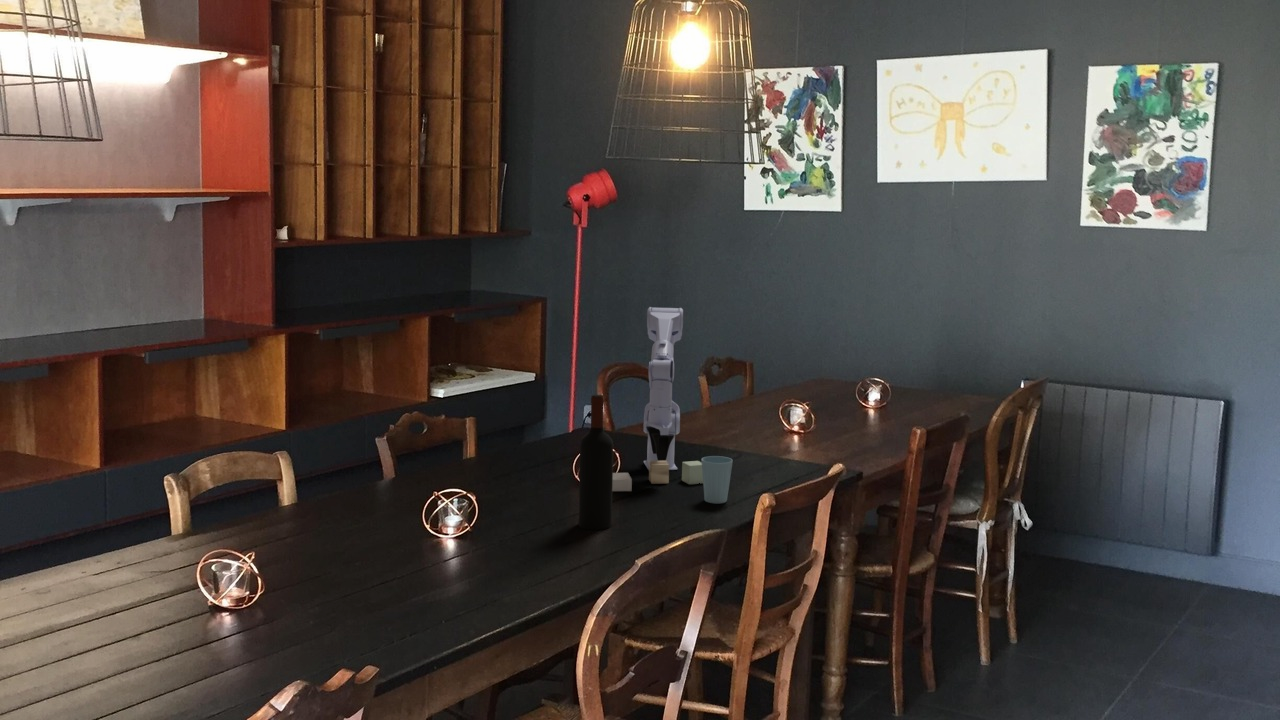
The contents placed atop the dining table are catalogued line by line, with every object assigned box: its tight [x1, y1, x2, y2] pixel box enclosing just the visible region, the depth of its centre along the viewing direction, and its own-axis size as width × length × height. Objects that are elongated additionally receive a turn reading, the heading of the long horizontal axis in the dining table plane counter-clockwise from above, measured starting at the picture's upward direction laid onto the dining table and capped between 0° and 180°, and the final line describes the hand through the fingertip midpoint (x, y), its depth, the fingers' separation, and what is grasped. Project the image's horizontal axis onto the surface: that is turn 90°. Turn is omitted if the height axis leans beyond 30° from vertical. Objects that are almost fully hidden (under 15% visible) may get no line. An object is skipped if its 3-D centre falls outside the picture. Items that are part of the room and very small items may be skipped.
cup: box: [700, 455, 734, 504], centre depth 303 cm, size 8×8×10 cm
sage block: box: [681, 460, 703, 485], centre depth 322 cm, size 4×4×5 cm
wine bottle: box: [578, 394, 614, 531], centre depth 278 cm, size 8×8×30 cm
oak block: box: [648, 461, 670, 485], centre depth 321 cm, size 4×4×5 cm
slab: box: [612, 472, 633, 492], centre depth 314 cm, size 7×7×3 cm
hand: (659, 456), depth 321 cm, fingers open, 7 cm apart
